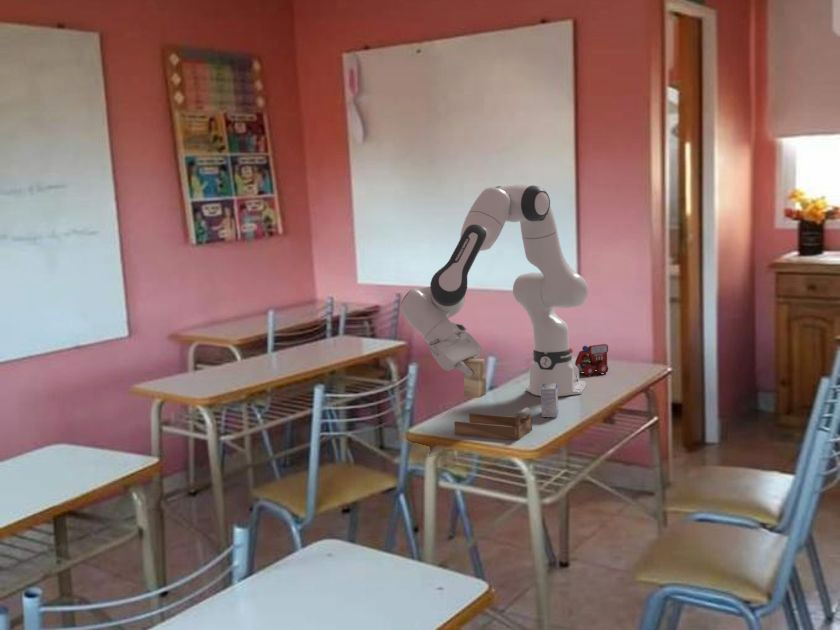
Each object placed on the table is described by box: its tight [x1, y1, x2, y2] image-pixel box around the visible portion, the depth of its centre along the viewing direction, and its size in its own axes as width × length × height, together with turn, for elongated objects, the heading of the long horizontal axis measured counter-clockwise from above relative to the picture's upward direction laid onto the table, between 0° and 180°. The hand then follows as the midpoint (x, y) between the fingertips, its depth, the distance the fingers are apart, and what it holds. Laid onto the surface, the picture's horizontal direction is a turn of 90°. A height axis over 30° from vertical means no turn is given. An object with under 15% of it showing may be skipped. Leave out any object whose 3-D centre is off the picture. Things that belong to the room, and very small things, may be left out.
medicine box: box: [540, 383, 559, 419], centre depth 270 cm, size 8×4×9 cm, turn 168°
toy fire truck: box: [574, 343, 609, 376], centre depth 323 cm, size 7×12×10 cm, turn 106°
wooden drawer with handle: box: [453, 407, 533, 441], centre depth 254 cm, size 10×19×7 cm, turn 62°
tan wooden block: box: [463, 358, 487, 399], centre depth 255 cm, size 4×4×10 cm
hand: (476, 373), depth 254 cm, fingers closed on tan wooden block, 4 cm apart
